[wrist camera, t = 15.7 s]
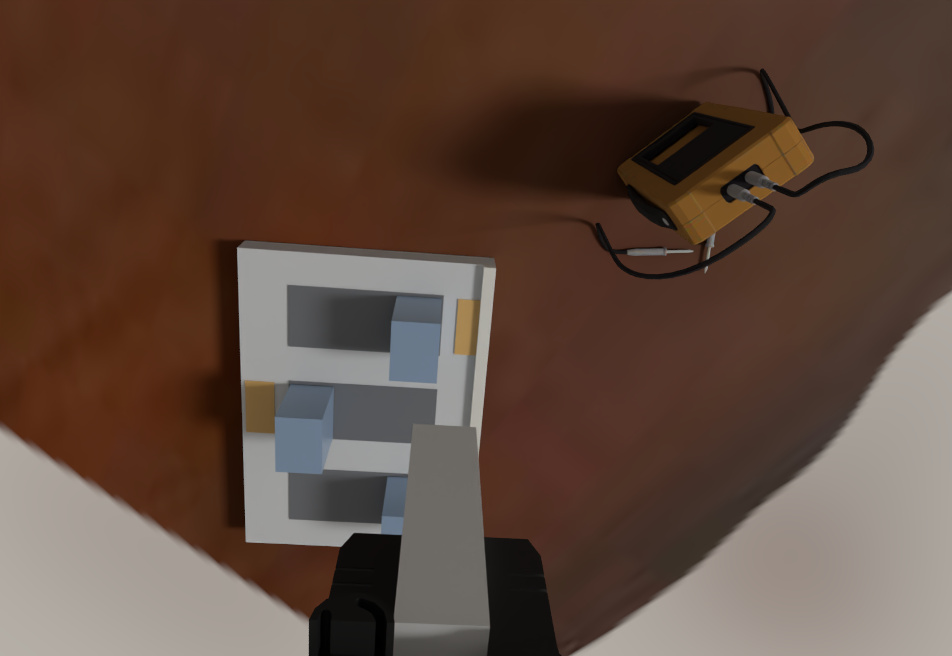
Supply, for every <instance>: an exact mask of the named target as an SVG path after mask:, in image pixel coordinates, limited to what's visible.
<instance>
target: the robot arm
mask: <svg viewBox="0 0 952 656" xmlns="http://www.w3.org/2000/svg"><path fill="white" fill-rule="evenodd" d="M309 656H561V655H560V654H559V651H558V648H557V644H556V639H555V633H554V627H553V622H552V616H551V611H550V605H549V600H548V594H547V589H546V583H545V578H544V572H543V566H542V561H541V556H540V554H539V553H538V552H537V551H536V549H535V548H534V547H533V546H532V544H531V543H530V542H529V540H528V539H510V538H490V537H484V533H483V518H482V504H481V490H480V475H479V461H478V446H477V432H476V427H463V426H446V425H428V424H413V430H412V440H411V450H410V460H409V470H408V480H407V490H406V500H405V510H404V520H403V530H402V535H392V534H371V533H353V534H352V535H351V537H350V538H349V539H348V540H347V541H346V542H345V543H344V544H343V545H342V547H341V548H340V551H339V555H338V560H337V564H336V570H335V573H334V577H333V583H332V586H331V591H330V595H329V599H326V600H325V601H324V602H322V603H321V604H320V605H319V606H317V607H316V608H315V609H314V611H313V613H312V615H311V617H310V619H309Z"/></svg>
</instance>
